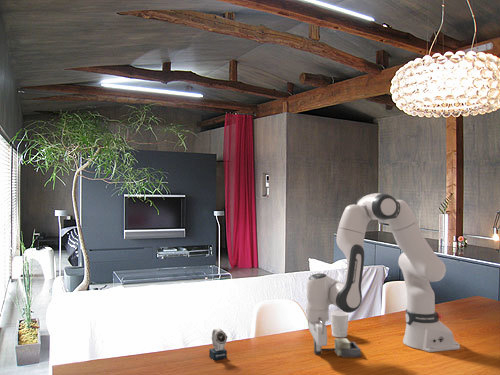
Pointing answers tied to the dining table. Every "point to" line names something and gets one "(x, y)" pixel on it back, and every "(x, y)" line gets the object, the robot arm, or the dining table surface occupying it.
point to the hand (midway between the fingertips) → (317, 349)
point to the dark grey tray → (351, 351)
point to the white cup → (339, 323)
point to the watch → (218, 345)
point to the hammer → (336, 346)
